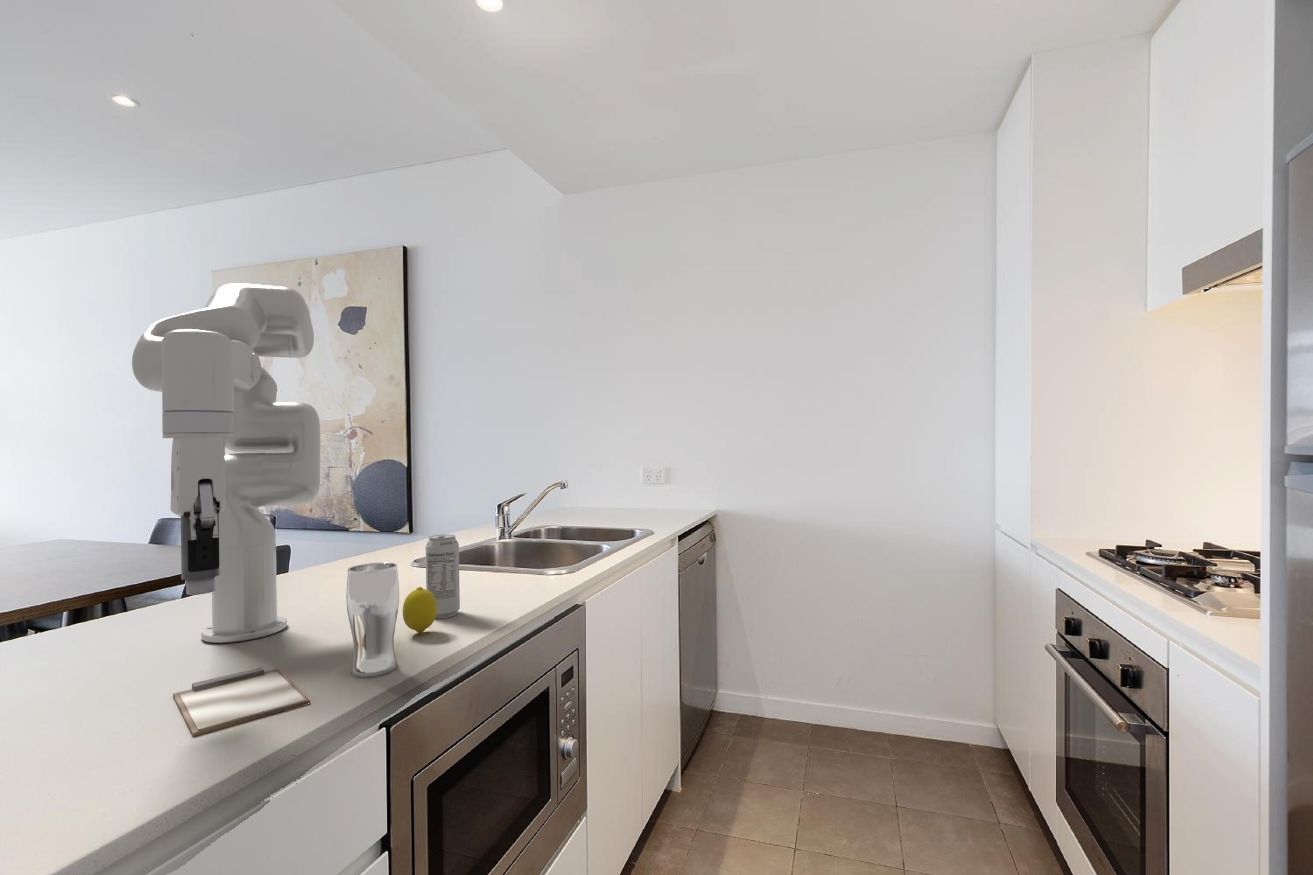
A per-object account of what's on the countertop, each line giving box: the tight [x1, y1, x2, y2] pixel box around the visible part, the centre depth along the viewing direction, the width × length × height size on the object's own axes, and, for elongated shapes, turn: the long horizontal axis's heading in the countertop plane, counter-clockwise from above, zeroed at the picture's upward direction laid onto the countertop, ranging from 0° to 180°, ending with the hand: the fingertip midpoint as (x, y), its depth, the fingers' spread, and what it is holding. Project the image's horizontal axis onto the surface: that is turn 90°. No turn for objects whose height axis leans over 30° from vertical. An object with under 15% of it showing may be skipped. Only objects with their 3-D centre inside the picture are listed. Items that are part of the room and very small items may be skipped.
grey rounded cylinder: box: [180, 500, 220, 596], centre depth 80 cm, size 4×4×12 cm
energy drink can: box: [425, 534, 461, 619], centre depth 117 cm, size 6×6×15 cm
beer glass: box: [345, 561, 400, 679], centre depth 89 cm, size 7×7×15 cm
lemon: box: [402, 586, 437, 634], centre depth 106 cm, size 6×6×8 cm
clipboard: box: [172, 666, 311, 738], centre depth 79 cm, size 16×12×1 cm
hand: (201, 566), depth 80 cm, fingers closed on grey rounded cylinder, 4 cm apart
